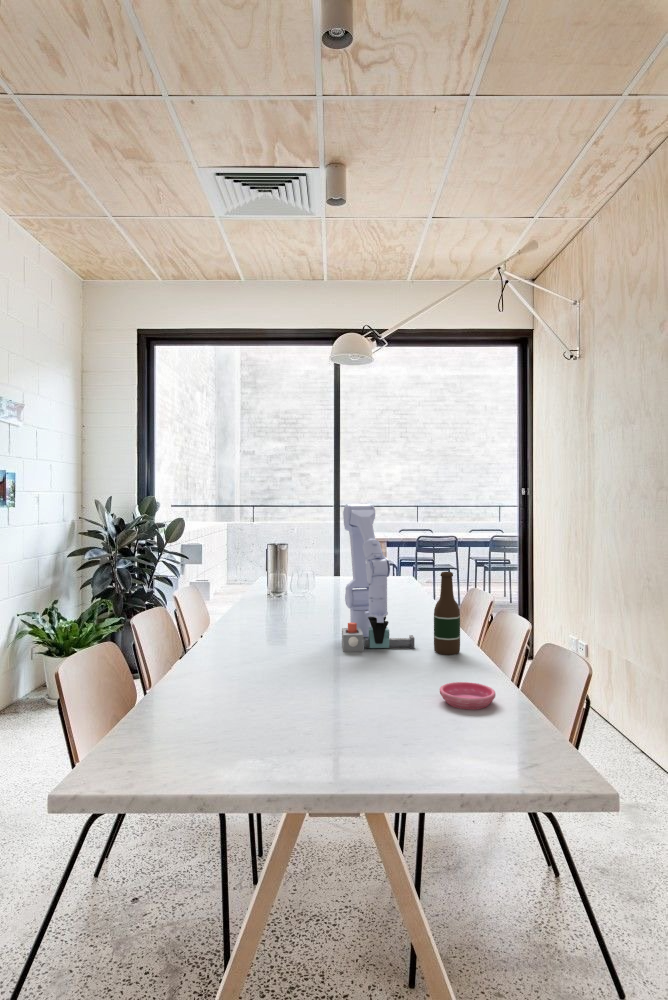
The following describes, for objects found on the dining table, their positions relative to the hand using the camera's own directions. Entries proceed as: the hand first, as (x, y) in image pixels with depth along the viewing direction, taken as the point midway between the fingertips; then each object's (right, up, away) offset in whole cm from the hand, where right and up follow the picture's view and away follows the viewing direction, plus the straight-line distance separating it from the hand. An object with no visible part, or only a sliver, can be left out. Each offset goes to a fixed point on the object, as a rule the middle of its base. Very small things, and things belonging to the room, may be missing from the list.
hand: (378, 641), depth 198 cm
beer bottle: (+20, -2, -6) cm, 21 cm away
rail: (+3, -2, 0) cm, 4 cm away
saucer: (+17, -3, -53) cm, 55 cm away
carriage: (0, -2, 0) cm, 2 cm away
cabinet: (-8, -2, 0) cm, 8 cm away
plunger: (-8, +2, 0) cm, 8 cm away
